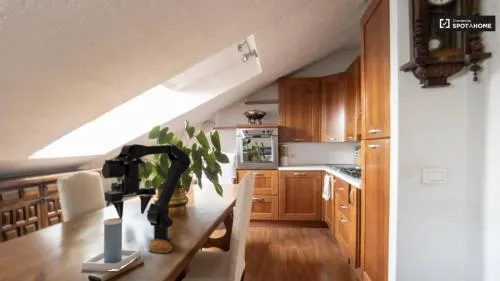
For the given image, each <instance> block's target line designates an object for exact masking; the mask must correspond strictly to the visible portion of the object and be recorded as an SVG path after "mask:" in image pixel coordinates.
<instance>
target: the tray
mask: <svg viewBox="0 0 500 281" xmlns="http://www.w3.org/2000/svg"><path fill="white" fill-rule="evenodd" d="M141 251H142V250H141V249H140V250H139V249H123V248H122V260H121V261H119V262H117V263H104V250H103V251H101V252H100V253H97V254H96V255H94V256H92V257H90V258H88V259H86V260H84V261H82V262H81V271H90V272H91V271H92V272H93V271H94V272H105V271H108V270H112V269H117V270H118V269H120V268H121V267H122V266H124V265H126V264H127V263H129V262H130V261H131V260H133V259H135V258H137V257H140V258H141Z"/></svg>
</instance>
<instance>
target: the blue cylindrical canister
mask: <svg viewBox="0 0 500 281" xmlns="http://www.w3.org/2000/svg"><path fill="white" fill-rule="evenodd" d="M123 221H124V219H123V218H122V219H121V218H119V217H117V218H116V217H115V218H114V217H113V218H107V219H104V220H103V235H104V236H103V251H104V263H117V262H119V261H121V260H122V249H123Z"/></svg>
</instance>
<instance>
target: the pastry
mask: <svg viewBox="0 0 500 281" xmlns="http://www.w3.org/2000/svg"><path fill="white" fill-rule="evenodd" d="M153 239H154V238H153ZM153 239H152V240H153ZM148 249H149V250H150V252H152V253H156V254H167V253H169V252H171V251H172V250H173V246H172V244H171V243H170V242H169V241H166V240H159V239H154V240H153V241H152V242H151V241H150V243H149V245H148Z"/></svg>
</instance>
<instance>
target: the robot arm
mask: <svg viewBox="0 0 500 281" xmlns="http://www.w3.org/2000/svg"><path fill="white" fill-rule="evenodd" d="M160 154H161V155H163V154H166V155H167V158H168V160H170V172H169V175H168V177H167V179H166V181H165V183H164V186H163V189H162V191H161V193H160V194H159V197H158V199H157V201H156V202H154V203H152V202H151V203H150V201H151V200H152V198H154V196H156V194H157V190H156V189H155V187H149V186H147V187H146V186H145V187H140V182H142V178H140V165H144V164H145V162H144V161H143V160H142V159H141V158H145V156H151V155H160ZM191 163H192V162H191V157H190V156H189V155H187V154H186V152H184V151H182V150H181V149H179V148H178V147H177V146H176V145H175V144H173V143H171V144H170V143H169V144H163V145H162V144H160V145H158V144H157V145H145V144H144V145H143V144H137V143H136V144H135V143H132V144H131V143H129V144H124V145H123V146H122V147H121V149H120V152H119V154H118V155H117V156H116V158H115V159H104V163H103V165H102V168H101V175H102V177H103V178H104V179H116V178H117V179H118V178H122V179H121V182H120V183H118V182H112V183H111V184H110V189H111V191H110V192H106V194H105V195H104V201H105V202H108V203H110V204H112V205H113V206H114V208H115V210H116V214H117V215H118V218H121V219H123V217H124V216H123V215H124V204H125V203H124V198H129V197H137V196H139V200H140V213H141V215H144V213H145V211H146V210H147V207H148V205H149V203H150V205H149V208H148V210H147V211H146V213H147V214H146V219H147V220H148V222H149V224H150V226H153V228H154V229H153V239H152V240H150V243H151V242H152V241H153V240H154V239H159V240H166V241H167V242H169V241H170V240H171V239H172V238H173V237H172V236H169V228H170V227H172V226H173V224H174V223H173V222H174V220H172V218H170V217H169V214H170V207H169V206H170V203H171V199H172V198H173V195H174V193H175V190H176V189H177V186H178V184H179V181H180V179H181V177H182V175H183V174H184V173H185V172H186V171H187V170H188V169H189V167H190V165H191Z"/></svg>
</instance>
